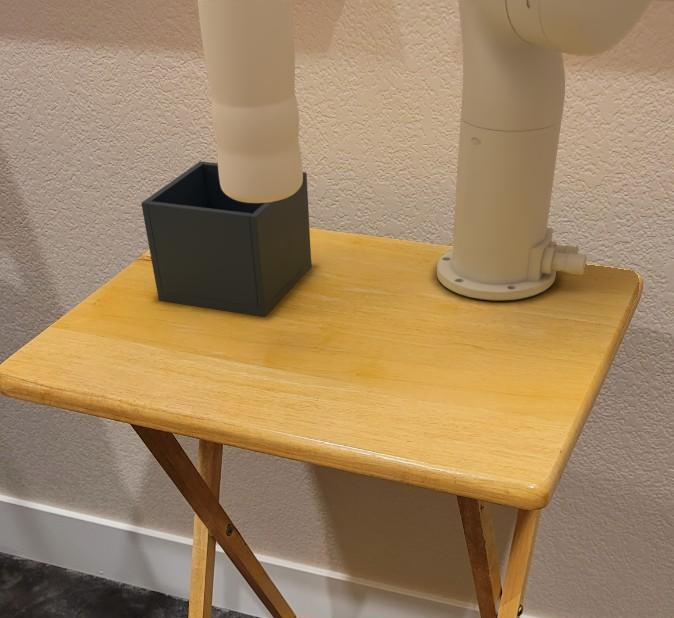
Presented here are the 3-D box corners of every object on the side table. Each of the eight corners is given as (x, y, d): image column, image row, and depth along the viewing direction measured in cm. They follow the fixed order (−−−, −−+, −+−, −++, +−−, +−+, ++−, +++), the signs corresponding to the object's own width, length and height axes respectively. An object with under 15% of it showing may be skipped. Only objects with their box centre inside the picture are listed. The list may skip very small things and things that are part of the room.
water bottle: (294, 207, 72) (264, -206, 55) (211, 204, 73) (156, -201, 56) (310, 176, 77) (288, -211, 60) (233, 174, 78) (189, -207, 61)
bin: (311, 267, 98) (306, 172, 91) (265, 317, 89) (256, 216, 82) (212, 253, 101) (199, 161, 94) (158, 300, 93) (140, 202, 86)
